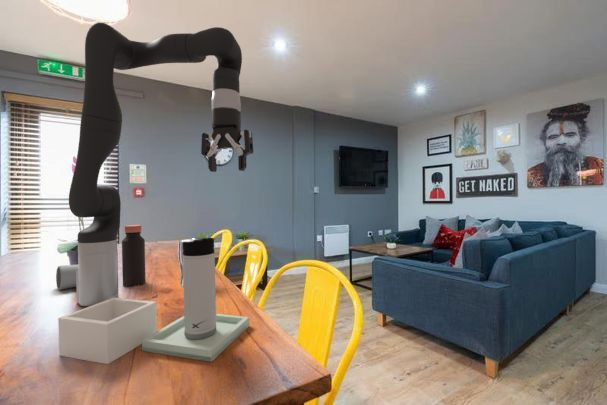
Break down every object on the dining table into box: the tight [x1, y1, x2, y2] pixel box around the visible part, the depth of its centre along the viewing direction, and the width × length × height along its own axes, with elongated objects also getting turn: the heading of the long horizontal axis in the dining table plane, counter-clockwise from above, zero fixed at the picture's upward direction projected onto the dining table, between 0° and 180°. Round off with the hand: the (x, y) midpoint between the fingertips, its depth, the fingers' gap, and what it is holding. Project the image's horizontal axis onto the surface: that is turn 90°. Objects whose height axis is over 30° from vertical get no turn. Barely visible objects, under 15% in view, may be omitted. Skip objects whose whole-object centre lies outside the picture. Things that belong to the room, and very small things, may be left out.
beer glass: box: [177, 238, 200, 288], centre depth 99 cm, size 7×7×15 cm
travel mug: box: [182, 237, 217, 340], centre depth 61 cm, size 6×7×20 cm
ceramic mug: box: [55, 263, 78, 291], centre depth 99 cm, size 11×8×8 cm
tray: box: [141, 313, 250, 363], centre depth 61 cm, size 15×15×2 cm
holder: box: [57, 297, 158, 365], centre depth 59 cm, size 12×12×7 cm
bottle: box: [121, 224, 147, 288], centre depth 100 cm, size 7×7×20 cm
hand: (227, 171), depth 79 cm, fingers open, 8 cm apart
